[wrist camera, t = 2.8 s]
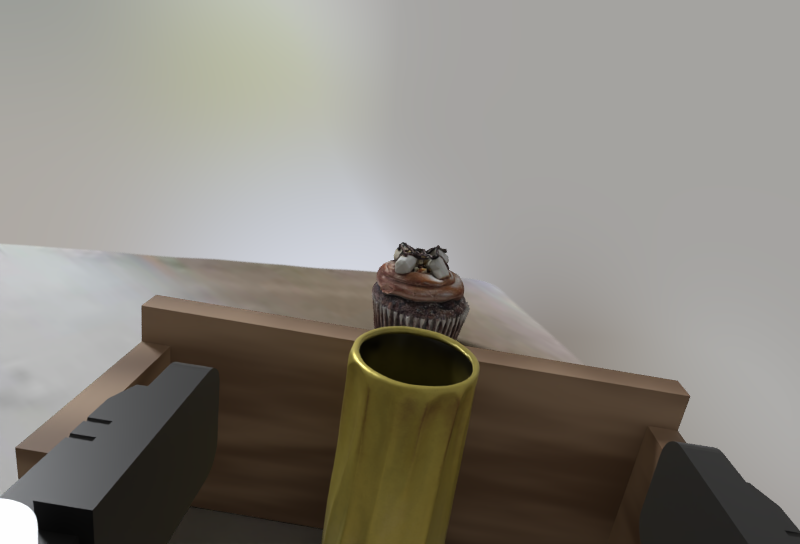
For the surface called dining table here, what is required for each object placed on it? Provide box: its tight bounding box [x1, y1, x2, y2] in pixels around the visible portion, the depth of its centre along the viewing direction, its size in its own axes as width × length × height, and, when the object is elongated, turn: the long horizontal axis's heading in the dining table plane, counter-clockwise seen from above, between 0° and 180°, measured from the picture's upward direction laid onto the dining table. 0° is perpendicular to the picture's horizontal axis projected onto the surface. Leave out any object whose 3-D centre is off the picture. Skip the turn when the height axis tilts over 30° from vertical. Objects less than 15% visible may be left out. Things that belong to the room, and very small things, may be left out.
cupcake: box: [372, 242, 470, 340], centre depth 53 cm, size 10×10×10 cm
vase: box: [321, 326, 480, 544], centre depth 24 cm, size 6×6×14 cm
